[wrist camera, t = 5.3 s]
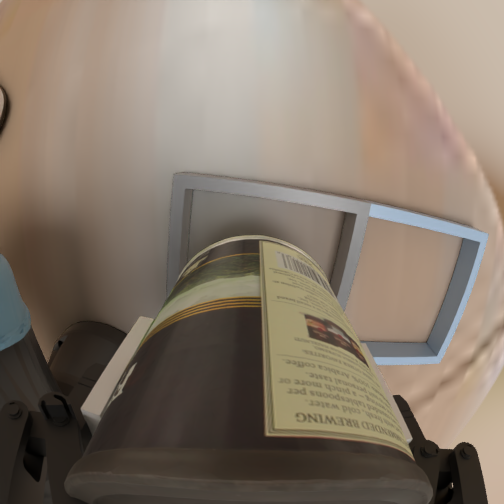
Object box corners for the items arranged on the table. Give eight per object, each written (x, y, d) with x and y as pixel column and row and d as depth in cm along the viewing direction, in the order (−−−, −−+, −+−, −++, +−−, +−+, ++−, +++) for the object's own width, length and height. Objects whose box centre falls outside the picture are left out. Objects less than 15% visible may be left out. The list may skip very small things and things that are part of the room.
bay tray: (174, 327, 28) (166, 343, 25) (183, 172, 23) (173, 173, 20) (429, 349, 28) (439, 363, 25) (472, 227, 23) (488, 234, 21)
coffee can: (172, 363, 19) (112, 540, 6) (176, 222, 16) (-6, 400, 3) (312, 379, 20) (346, 558, 6) (351, 247, 17) (510, 434, 3)
